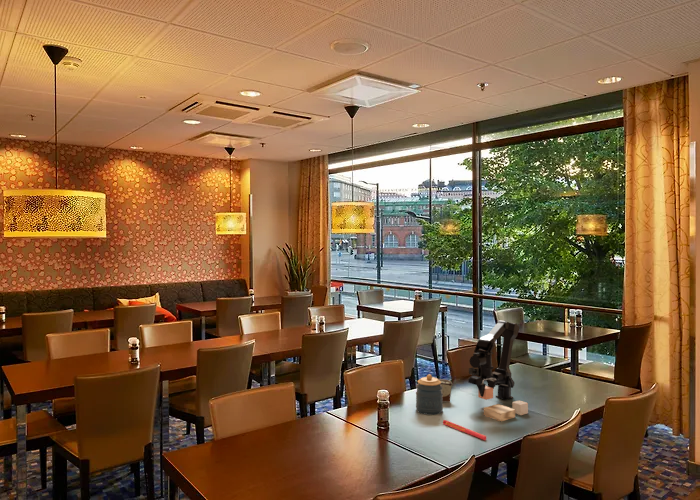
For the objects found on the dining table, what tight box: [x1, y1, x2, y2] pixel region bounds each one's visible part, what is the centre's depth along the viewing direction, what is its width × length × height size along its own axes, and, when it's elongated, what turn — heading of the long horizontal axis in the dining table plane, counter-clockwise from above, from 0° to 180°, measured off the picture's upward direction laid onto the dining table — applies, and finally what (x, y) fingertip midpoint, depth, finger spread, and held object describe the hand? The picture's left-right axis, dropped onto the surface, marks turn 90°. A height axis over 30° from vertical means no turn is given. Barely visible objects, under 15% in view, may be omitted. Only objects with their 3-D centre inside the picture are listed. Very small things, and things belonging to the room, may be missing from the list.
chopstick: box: [442, 419, 487, 441], centre depth 225 cm, size 24×2×5 cm
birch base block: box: [483, 403, 516, 422], centre depth 244 cm, size 10×10×4 cm
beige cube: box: [511, 399, 529, 416], centre depth 248 cm, size 5×5×5 cm
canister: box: [415, 373, 444, 416], centre depth 252 cm, size 13×13×18 cm
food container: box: [437, 378, 454, 403], centre depth 269 cm, size 12×6×10 cm, turn 84°
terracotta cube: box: [477, 385, 494, 401], centre depth 258 cm, size 5×5×5 cm
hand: (485, 395), depth 258 cm, fingers closed on terracotta cube, 5 cm apart
